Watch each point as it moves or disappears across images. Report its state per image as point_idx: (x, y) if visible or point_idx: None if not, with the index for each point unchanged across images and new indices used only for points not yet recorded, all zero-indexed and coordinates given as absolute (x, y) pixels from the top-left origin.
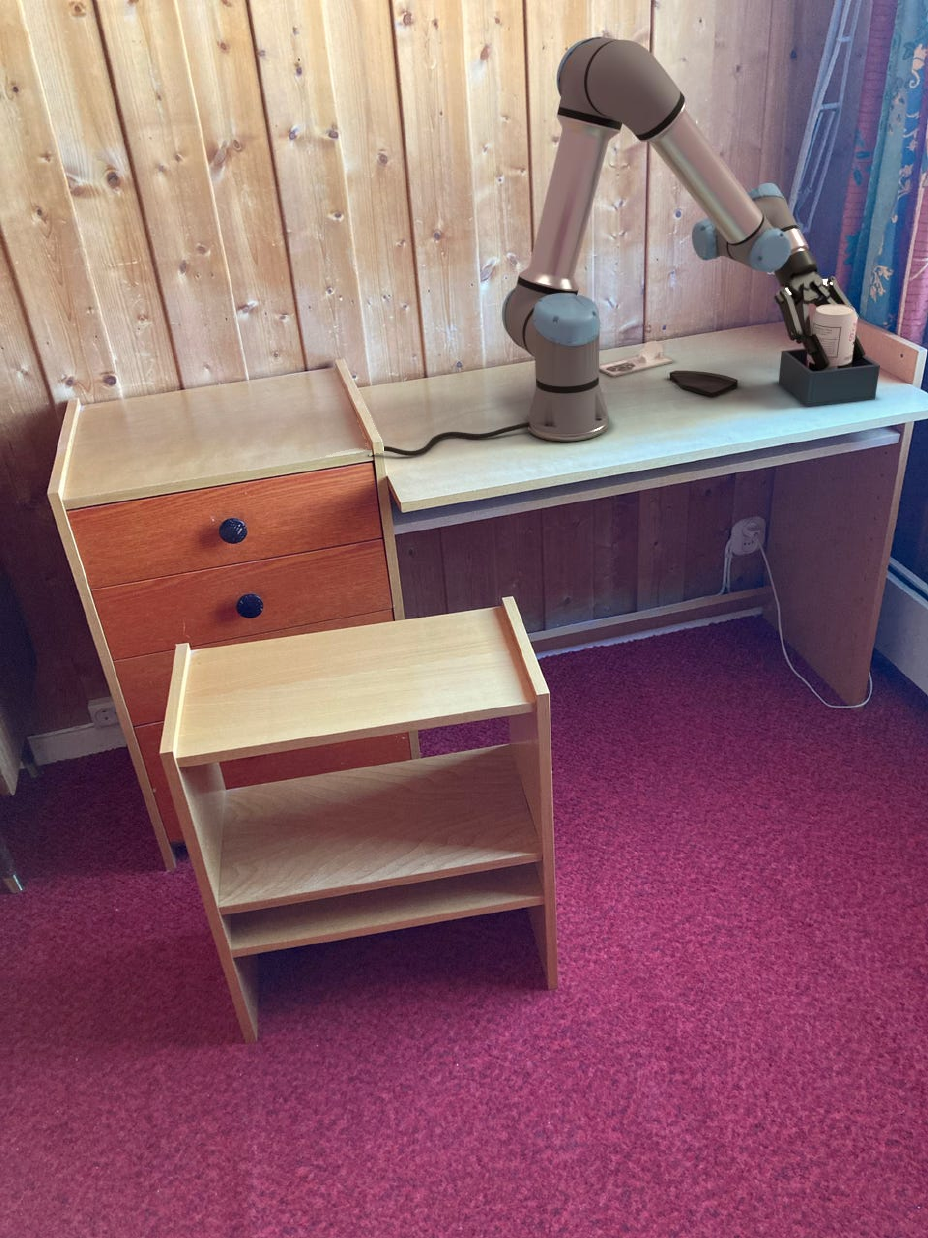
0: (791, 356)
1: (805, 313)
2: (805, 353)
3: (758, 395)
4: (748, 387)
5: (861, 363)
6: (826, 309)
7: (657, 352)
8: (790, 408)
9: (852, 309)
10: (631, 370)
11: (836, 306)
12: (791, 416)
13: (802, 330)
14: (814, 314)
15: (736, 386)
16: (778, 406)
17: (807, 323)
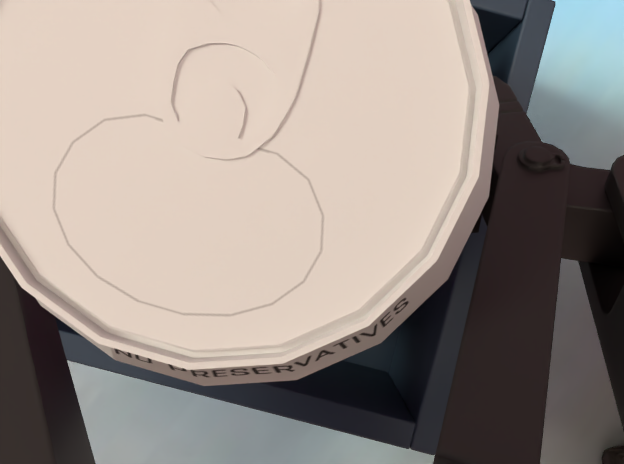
0: (452, 328)
1: (527, 330)
2: (288, 381)
3: (580, 306)
4: (555, 421)
5: None
6: (290, 208)
7: None
8: (557, 90)
9: (2, 5)
10: None
11: (85, 246)
12: (614, 8)
13: (576, 206)
14: (453, 239)
15: (613, 448)
16: (588, 140)
17: (523, 229)
